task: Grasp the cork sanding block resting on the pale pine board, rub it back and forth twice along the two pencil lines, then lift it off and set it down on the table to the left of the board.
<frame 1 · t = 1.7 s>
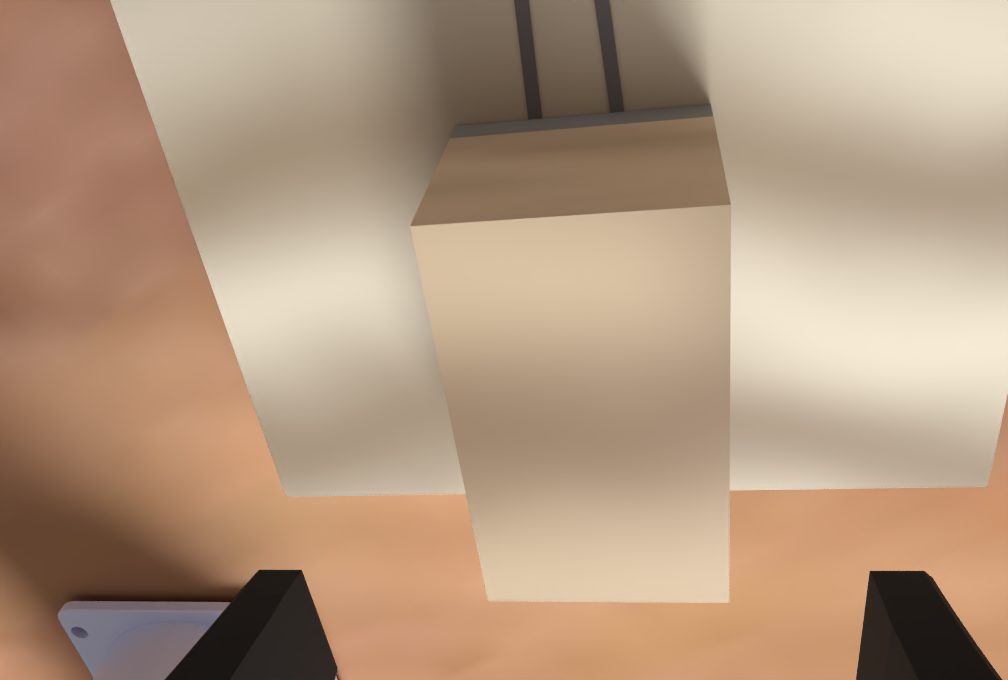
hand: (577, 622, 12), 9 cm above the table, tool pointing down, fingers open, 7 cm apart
pine board: (587, 142, 18), on the table
sanding block: (597, 308, 18), point 1 cm above the table, touching pine board
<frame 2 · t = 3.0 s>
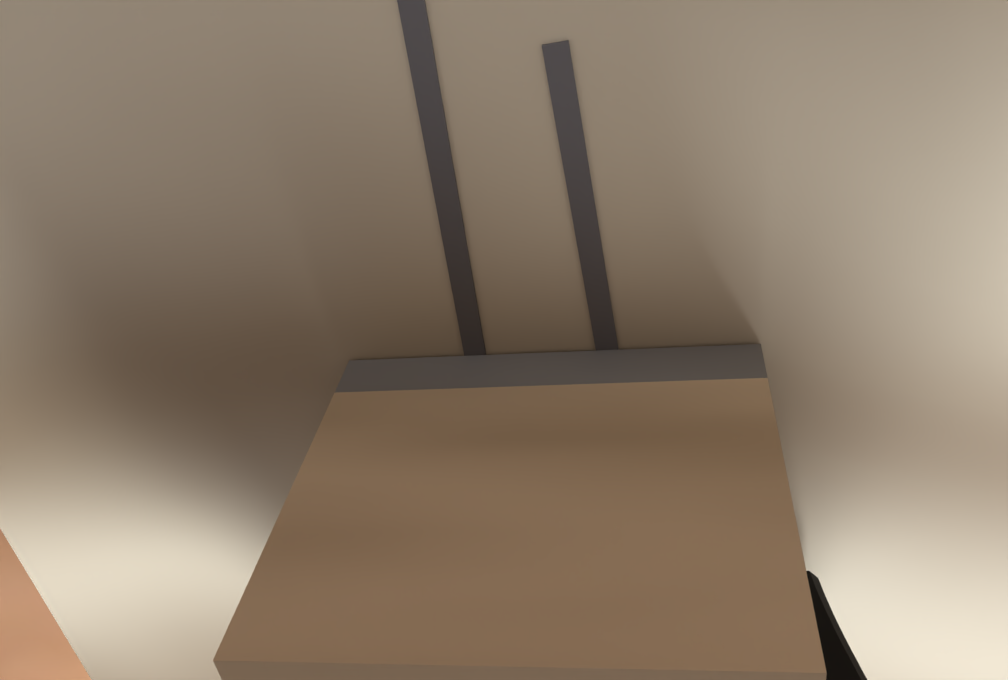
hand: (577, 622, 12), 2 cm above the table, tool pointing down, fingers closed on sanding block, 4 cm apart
pine board: (563, 361, 11), on the table
sanding block: (578, 600, 12), point 1 cm above the table, touching gripper, pine board
when the fingers open (1 cm above the table, at t = 13.7 s): sanding block stays where it is, on the table.
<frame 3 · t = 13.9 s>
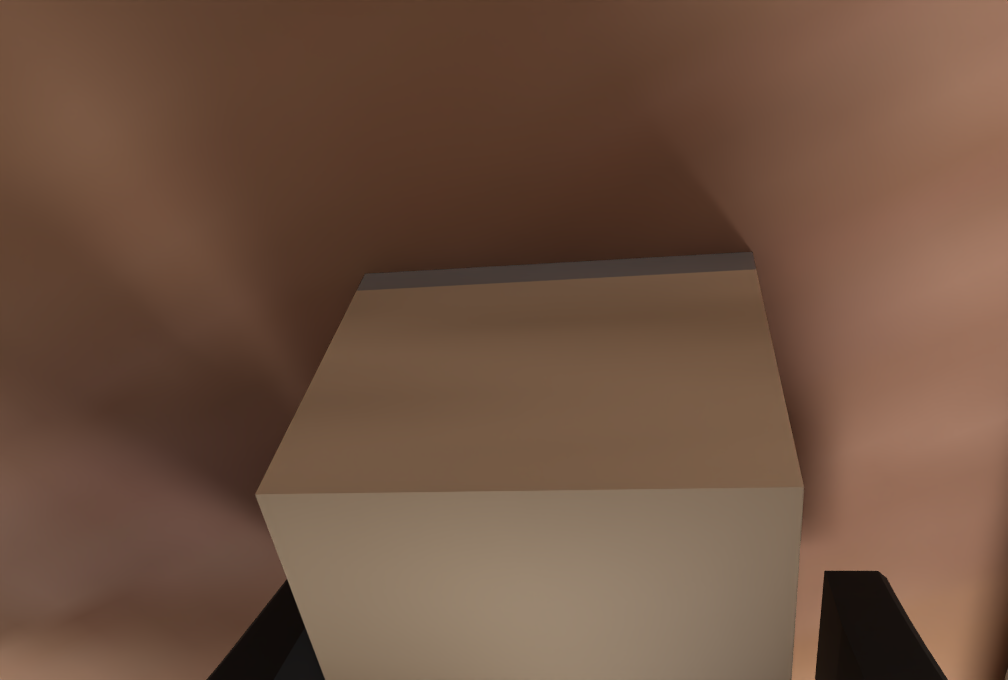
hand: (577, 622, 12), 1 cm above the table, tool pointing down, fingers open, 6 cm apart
sanding block: (581, 504, 13), on the table
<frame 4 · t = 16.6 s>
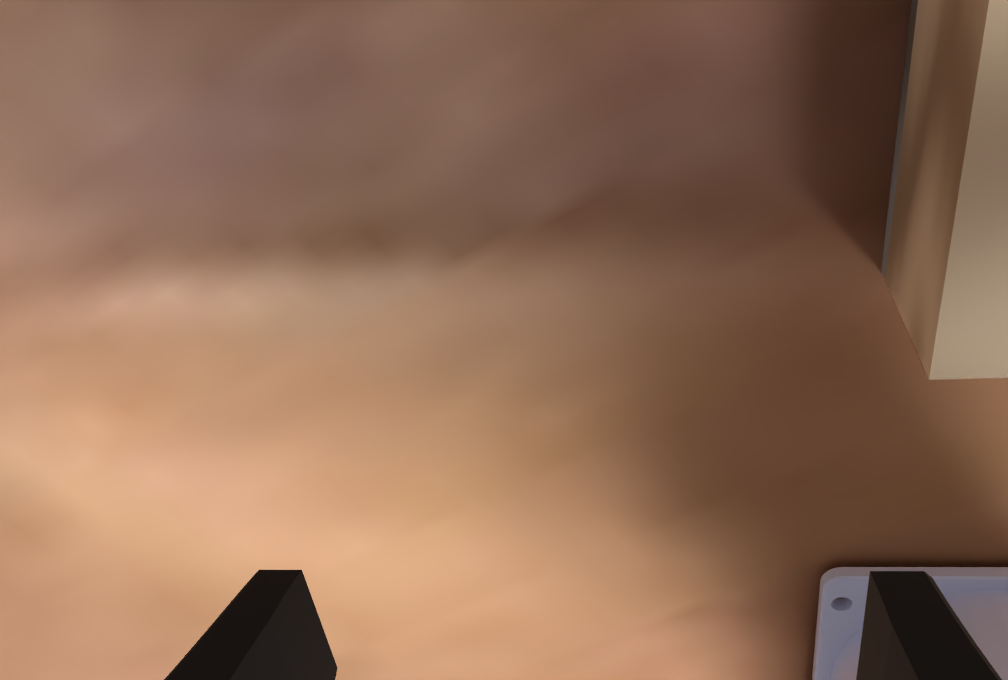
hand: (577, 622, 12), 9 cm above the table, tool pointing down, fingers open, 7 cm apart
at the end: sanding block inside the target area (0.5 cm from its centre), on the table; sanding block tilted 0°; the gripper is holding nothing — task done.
